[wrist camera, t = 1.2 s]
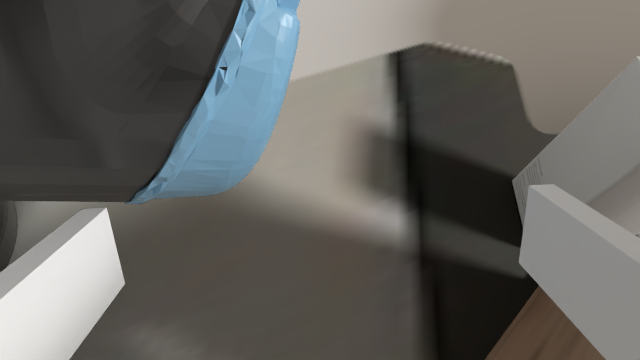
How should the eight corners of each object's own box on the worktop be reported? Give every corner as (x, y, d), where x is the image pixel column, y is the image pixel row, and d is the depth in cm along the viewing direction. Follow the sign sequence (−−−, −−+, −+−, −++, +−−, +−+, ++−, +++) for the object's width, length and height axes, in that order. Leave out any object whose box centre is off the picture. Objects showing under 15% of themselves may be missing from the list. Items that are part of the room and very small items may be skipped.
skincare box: (586, 266, 38) (779, 162, 25) (521, 249, 37) (688, 132, 25) (564, 192, 43) (716, 76, 31) (506, 176, 42) (639, 49, 30)
